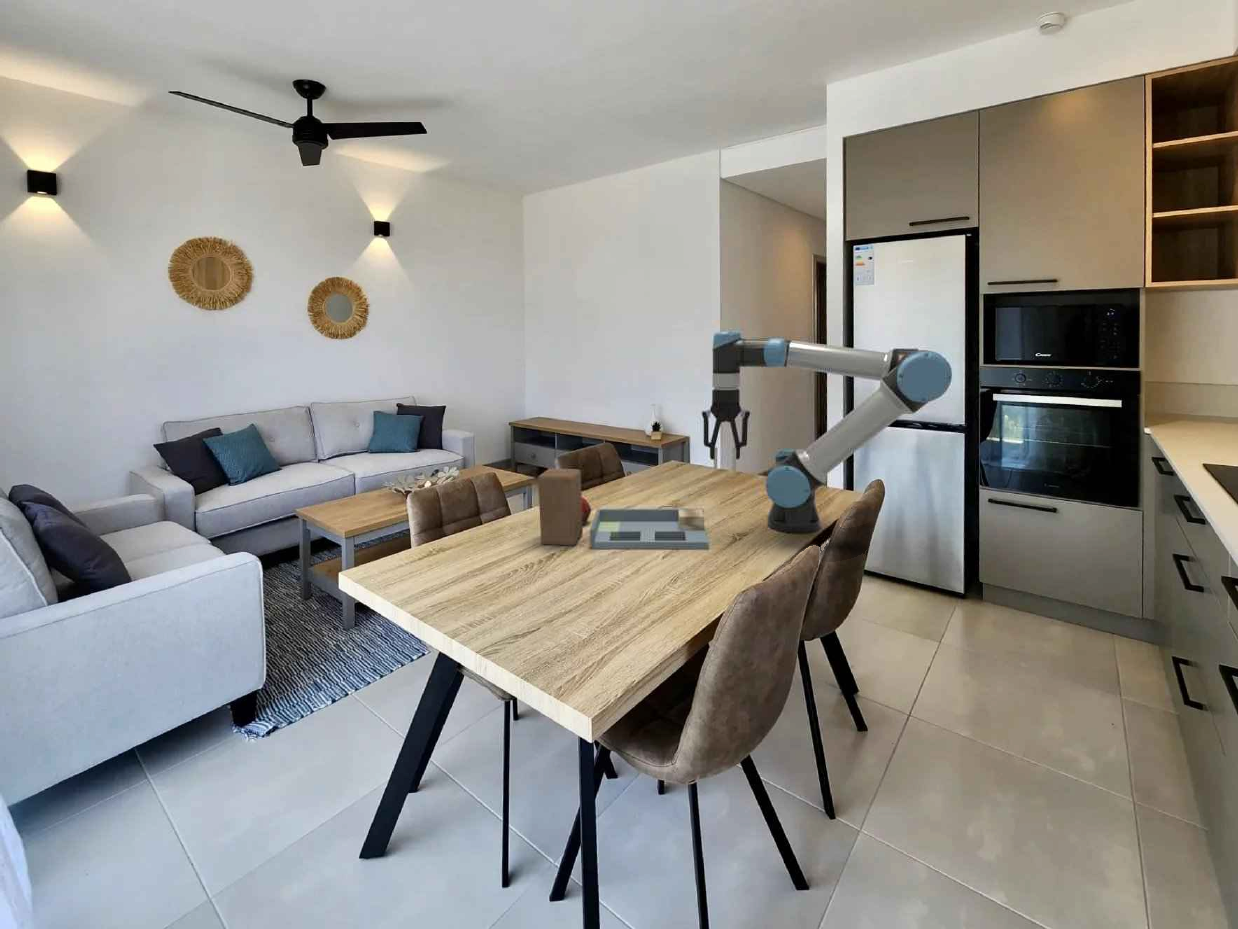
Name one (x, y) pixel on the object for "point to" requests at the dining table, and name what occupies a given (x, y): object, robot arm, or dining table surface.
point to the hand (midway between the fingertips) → (724, 470)
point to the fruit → (585, 510)
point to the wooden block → (560, 506)
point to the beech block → (691, 520)
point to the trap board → (643, 530)
